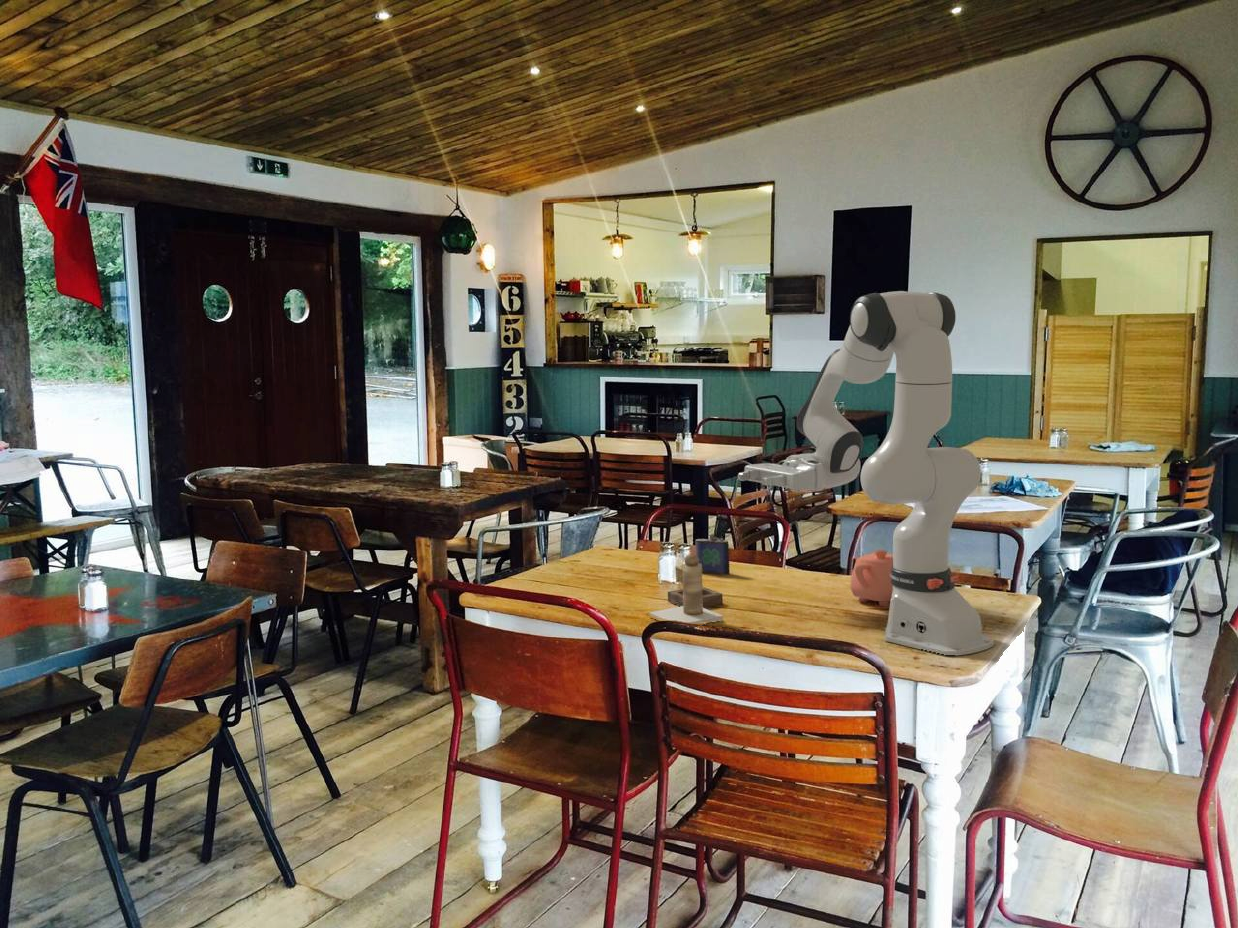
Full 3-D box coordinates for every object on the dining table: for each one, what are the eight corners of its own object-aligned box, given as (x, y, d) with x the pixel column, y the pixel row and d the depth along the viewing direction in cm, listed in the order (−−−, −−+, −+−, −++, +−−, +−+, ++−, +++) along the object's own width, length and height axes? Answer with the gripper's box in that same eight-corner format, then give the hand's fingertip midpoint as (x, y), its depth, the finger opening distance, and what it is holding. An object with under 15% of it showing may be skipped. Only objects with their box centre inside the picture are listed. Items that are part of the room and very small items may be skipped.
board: (722, 620, 231) (722, 615, 230) (677, 630, 225) (677, 624, 225) (693, 608, 241) (693, 603, 241) (649, 617, 235) (649, 612, 235)
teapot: (879, 613, 232) (878, 561, 230) (836, 604, 240) (835, 553, 239) (928, 595, 244) (929, 546, 243) (886, 587, 253) (886, 539, 252)
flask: (694, 572, 275) (693, 533, 274) (698, 570, 278) (697, 531, 276) (727, 575, 271) (727, 535, 270) (731, 572, 274) (730, 533, 272)
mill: (706, 613, 233) (705, 554, 231) (690, 616, 231) (688, 557, 229) (696, 608, 237) (694, 550, 235) (679, 611, 235) (678, 553, 233)
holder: (722, 604, 244) (722, 593, 244) (689, 610, 240) (688, 600, 239) (700, 595, 252) (700, 585, 252) (668, 601, 248) (667, 591, 247)
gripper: (772, 455, 253) (725, 461, 247) (826, 464, 235) (778, 470, 229) (772, 481, 254) (726, 487, 247) (827, 491, 236) (778, 498, 230)
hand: (751, 479), depth 238 cm, fingers open, 8 cm apart
